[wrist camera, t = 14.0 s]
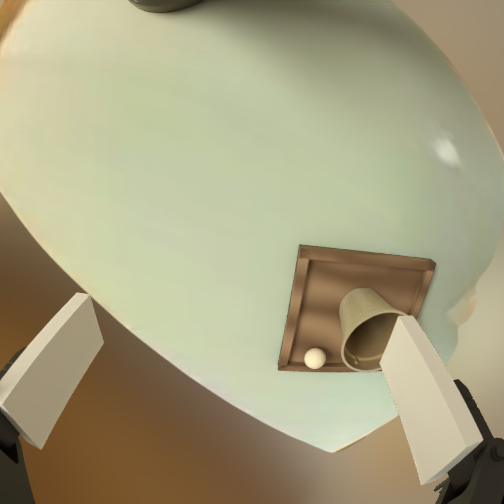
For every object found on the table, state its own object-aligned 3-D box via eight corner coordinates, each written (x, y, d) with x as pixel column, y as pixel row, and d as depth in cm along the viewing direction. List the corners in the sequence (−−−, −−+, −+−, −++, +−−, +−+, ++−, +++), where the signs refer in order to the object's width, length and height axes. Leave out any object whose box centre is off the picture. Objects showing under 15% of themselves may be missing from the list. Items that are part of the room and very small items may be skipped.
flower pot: (401, 286, 36) (427, 320, 28) (369, 338, 39) (387, 376, 31) (347, 266, 35) (367, 301, 27) (316, 323, 39) (327, 365, 31)
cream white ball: (305, 343, 40) (308, 357, 37) (326, 344, 40) (329, 357, 37) (301, 358, 41) (303, 373, 38) (321, 359, 41) (324, 373, 38)
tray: (299, 244, 35) (300, 248, 34) (431, 259, 35) (436, 263, 33) (277, 363, 42) (278, 370, 41) (390, 364, 42) (392, 370, 41)
